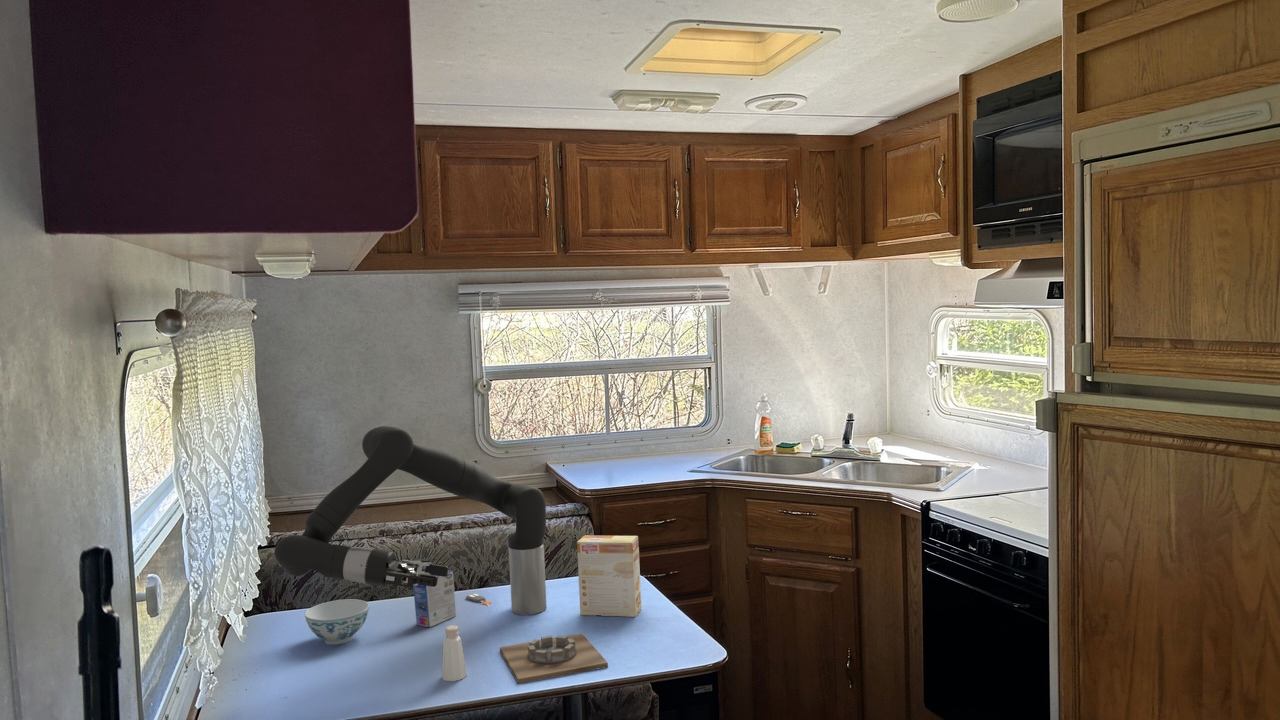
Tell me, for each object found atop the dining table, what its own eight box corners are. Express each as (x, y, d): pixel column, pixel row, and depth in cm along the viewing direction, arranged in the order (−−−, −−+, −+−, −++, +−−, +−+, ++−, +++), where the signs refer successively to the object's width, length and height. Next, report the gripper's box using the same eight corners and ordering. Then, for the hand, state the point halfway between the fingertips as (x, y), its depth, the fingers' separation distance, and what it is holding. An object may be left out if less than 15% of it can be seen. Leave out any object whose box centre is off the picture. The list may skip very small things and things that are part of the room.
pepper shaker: (436, 677, 193) (433, 628, 193) (457, 669, 197) (454, 621, 197) (451, 684, 190) (448, 633, 189) (472, 675, 194) (469, 626, 193)
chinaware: (305, 635, 223) (303, 605, 223) (367, 625, 229) (365, 595, 229) (308, 655, 210) (306, 623, 209) (374, 643, 216) (372, 612, 215)
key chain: (464, 600, 247) (463, 595, 247) (475, 597, 250) (475, 592, 250) (491, 610, 238) (490, 605, 238) (502, 606, 240) (502, 601, 240)
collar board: (499, 651, 207) (499, 636, 207) (582, 637, 214) (581, 622, 214) (518, 683, 188) (517, 667, 188) (607, 667, 195) (607, 651, 195)
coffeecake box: (642, 608, 233) (639, 535, 232) (635, 617, 226) (632, 542, 225) (587, 606, 236) (584, 534, 235) (579, 615, 229) (576, 541, 228)
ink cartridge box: (442, 613, 236) (439, 559, 235) (457, 616, 233) (454, 561, 232) (414, 624, 228) (411, 569, 227) (429, 628, 225) (426, 572, 224)
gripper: (359, 556, 186) (436, 567, 185) (382, 542, 200) (453, 552, 199) (355, 591, 186) (431, 602, 185) (378, 574, 200) (448, 585, 199)
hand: (442, 576), depth 192 cm, fingers open, 8 cm apart
